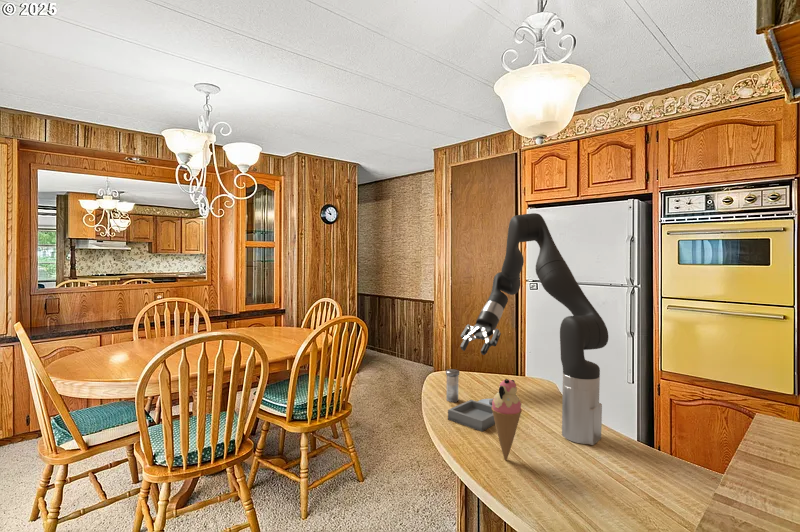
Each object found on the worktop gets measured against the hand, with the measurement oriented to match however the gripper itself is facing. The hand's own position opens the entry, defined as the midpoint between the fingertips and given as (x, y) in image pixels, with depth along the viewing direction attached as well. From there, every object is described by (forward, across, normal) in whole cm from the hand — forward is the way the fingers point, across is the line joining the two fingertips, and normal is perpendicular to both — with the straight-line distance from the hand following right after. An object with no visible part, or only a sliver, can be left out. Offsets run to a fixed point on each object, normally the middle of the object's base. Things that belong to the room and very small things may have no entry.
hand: (472, 351), depth 151 cm
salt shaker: (+18, 0, +2) cm, 19 cm away
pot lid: (+16, +14, +4) cm, 22 cm away
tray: (+24, +15, -4) cm, 29 cm away
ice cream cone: (+35, +34, -14) cm, 51 cm away
